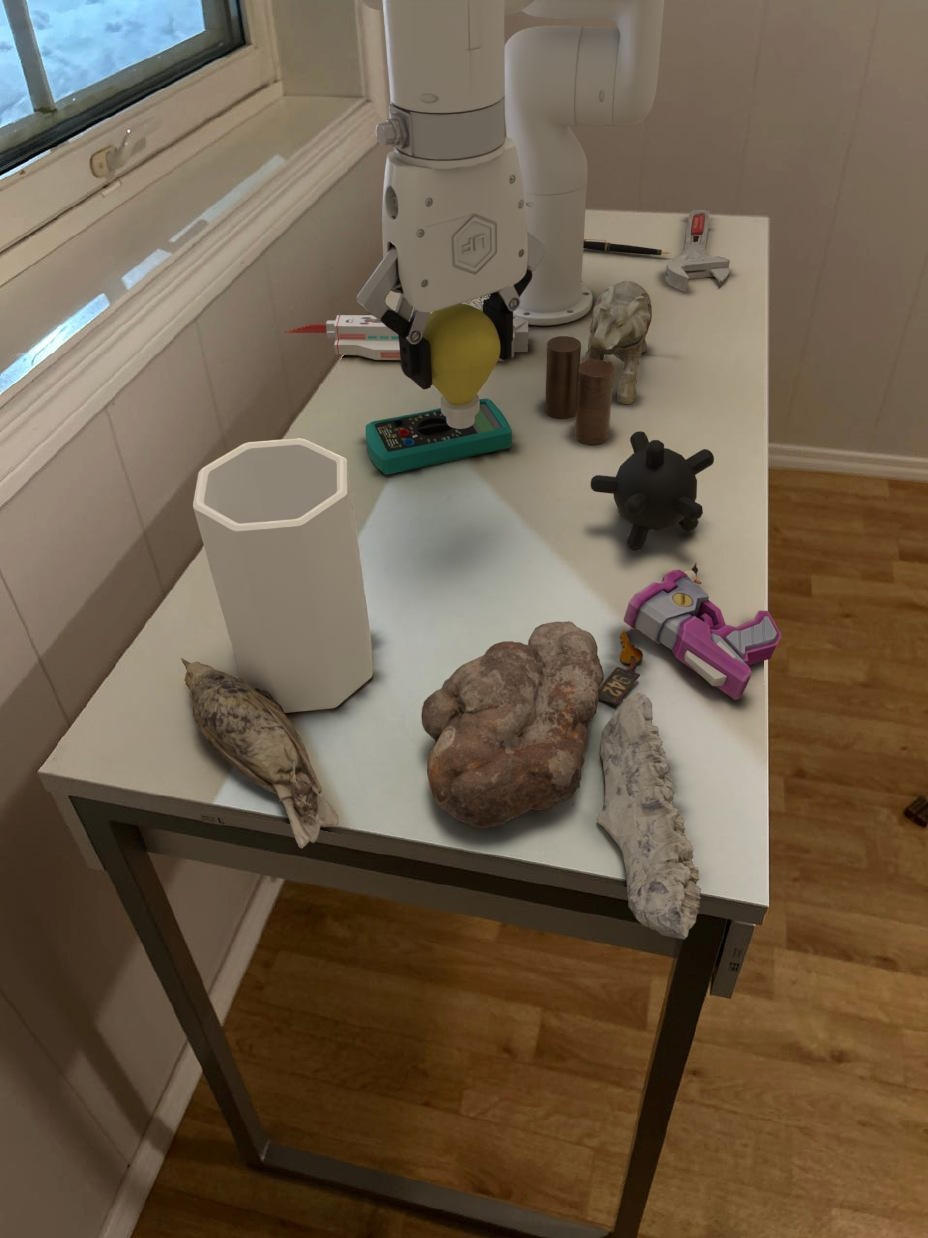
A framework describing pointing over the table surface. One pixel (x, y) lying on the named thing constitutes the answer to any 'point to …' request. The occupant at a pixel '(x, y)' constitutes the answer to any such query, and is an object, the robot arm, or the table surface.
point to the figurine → (621, 331)
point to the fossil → (647, 822)
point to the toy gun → (702, 631)
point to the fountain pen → (620, 248)
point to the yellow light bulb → (461, 359)
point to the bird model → (259, 745)
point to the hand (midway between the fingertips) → (458, 365)
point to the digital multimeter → (434, 438)
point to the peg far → (562, 376)
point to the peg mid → (594, 401)
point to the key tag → (621, 674)
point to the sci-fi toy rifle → (385, 336)
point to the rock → (514, 726)
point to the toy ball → (655, 488)
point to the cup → (287, 570)
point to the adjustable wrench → (696, 255)
